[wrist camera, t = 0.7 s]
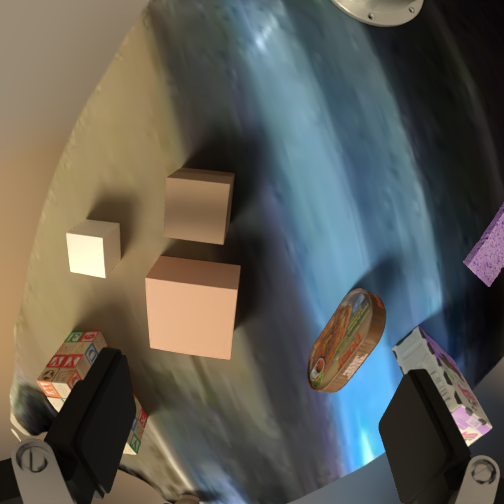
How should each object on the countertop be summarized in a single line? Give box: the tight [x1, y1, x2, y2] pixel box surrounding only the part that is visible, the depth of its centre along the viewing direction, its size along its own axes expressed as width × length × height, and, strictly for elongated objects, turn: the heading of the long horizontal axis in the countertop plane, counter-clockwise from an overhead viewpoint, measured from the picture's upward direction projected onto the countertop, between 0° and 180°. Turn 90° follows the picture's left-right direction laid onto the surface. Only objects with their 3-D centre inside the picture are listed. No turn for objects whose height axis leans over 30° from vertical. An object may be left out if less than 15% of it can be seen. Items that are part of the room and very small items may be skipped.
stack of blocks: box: [37, 330, 148, 455], centre depth 43 cm, size 21×6×12 cm, turn 10°
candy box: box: [392, 326, 492, 446], centre depth 37 cm, size 14×6×16 cm, turn 51°
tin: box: [307, 288, 386, 393], centre depth 38 cm, size 15×3×8 cm, turn 157°
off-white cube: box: [66, 219, 121, 278], centre depth 36 cm, size 5×5×5 cm
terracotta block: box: [145, 256, 241, 360], centre depth 38 cm, size 10×10×6 cm
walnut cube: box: [164, 167, 235, 245], centre depth 33 cm, size 6×6×6 cm
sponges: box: [463, 203, 504, 287], centre depth 36 cm, size 7×13×2 cm, turn 149°
